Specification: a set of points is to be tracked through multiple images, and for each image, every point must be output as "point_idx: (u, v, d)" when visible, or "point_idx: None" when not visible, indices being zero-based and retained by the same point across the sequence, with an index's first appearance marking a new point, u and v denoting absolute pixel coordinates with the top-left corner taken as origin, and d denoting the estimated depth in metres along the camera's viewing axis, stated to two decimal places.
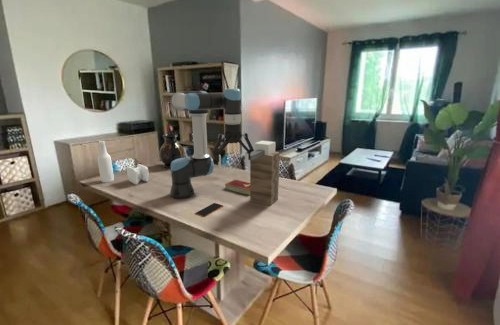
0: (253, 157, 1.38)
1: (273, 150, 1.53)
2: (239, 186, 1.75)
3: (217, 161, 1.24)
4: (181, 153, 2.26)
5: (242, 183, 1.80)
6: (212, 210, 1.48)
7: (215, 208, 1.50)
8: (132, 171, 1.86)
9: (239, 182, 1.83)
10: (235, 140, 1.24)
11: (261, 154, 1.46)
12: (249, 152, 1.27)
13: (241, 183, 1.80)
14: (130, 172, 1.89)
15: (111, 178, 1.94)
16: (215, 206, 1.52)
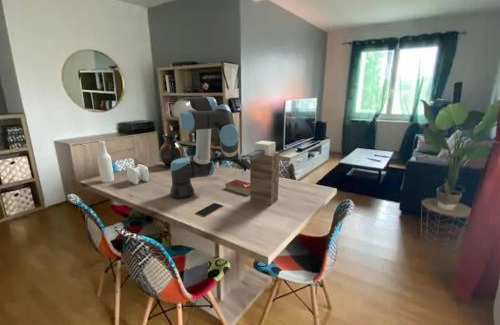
0: (253, 157, 1.38)
1: (273, 150, 1.53)
2: (239, 186, 1.75)
3: None
4: (181, 153, 2.26)
5: (242, 183, 1.80)
6: (212, 210, 1.48)
7: (215, 208, 1.50)
8: (132, 171, 1.86)
9: (239, 182, 1.83)
10: None
11: (261, 154, 1.46)
12: (244, 169, 1.29)
13: (241, 183, 1.80)
14: (130, 172, 1.89)
15: (111, 178, 1.94)
16: (215, 206, 1.52)
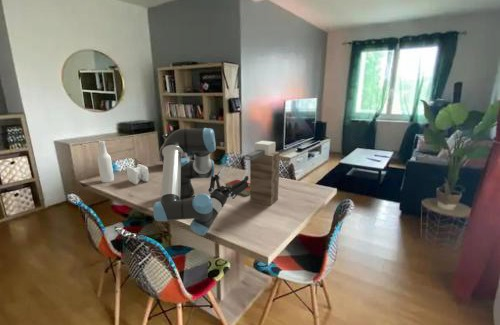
0: (253, 157, 1.38)
1: (273, 150, 1.53)
2: None
3: None
4: None
5: None
6: None
7: None
8: (132, 171, 1.86)
9: None
10: None
11: (261, 154, 1.46)
12: None
13: None
14: (130, 172, 1.89)
15: (111, 178, 1.94)
16: None
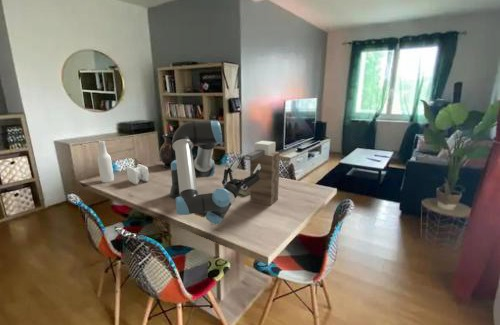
0: (253, 157, 1.38)
1: (273, 150, 1.53)
2: None
3: None
4: None
5: None
6: None
7: None
8: (132, 171, 1.86)
9: None
10: None
11: (261, 154, 1.46)
12: None
13: None
14: (130, 172, 1.89)
15: (111, 178, 1.94)
16: None
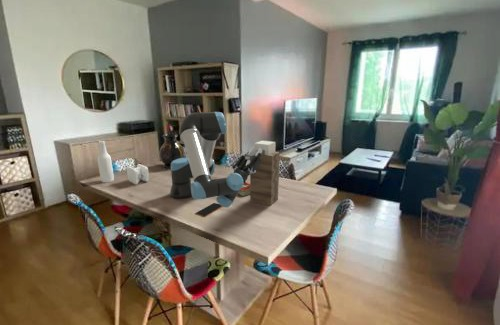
0: (253, 157, 1.38)
1: (273, 150, 1.53)
2: None
3: None
4: (181, 153, 2.26)
5: None
6: (212, 210, 1.48)
7: (215, 208, 1.50)
8: (132, 171, 1.86)
9: None
10: None
11: (261, 154, 1.46)
12: None
13: None
14: (130, 172, 1.89)
15: (111, 178, 1.94)
16: (215, 206, 1.53)
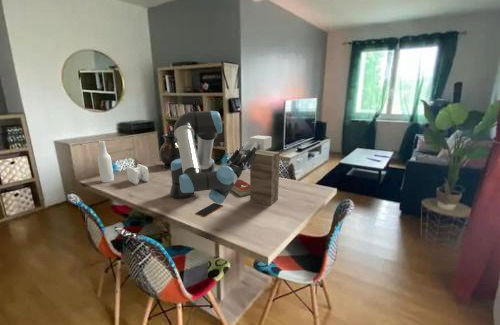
0: (248, 152, 1.33)
1: (269, 145, 1.47)
2: (236, 186, 1.75)
3: None
4: None
5: (241, 184, 1.79)
6: (212, 210, 1.48)
7: (215, 208, 1.50)
8: (132, 171, 1.86)
9: (240, 182, 1.83)
10: None
11: (256, 149, 1.40)
12: None
13: (240, 184, 1.79)
14: (130, 172, 1.89)
15: (111, 178, 1.94)
16: (215, 206, 1.53)
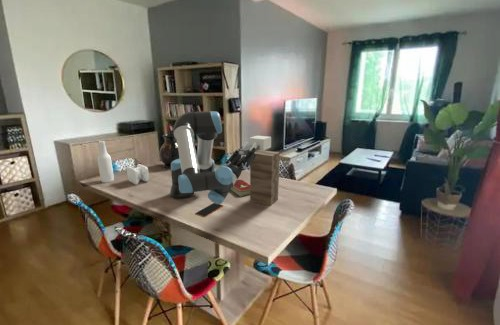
0: (247, 152, 1.32)
1: (269, 145, 1.47)
2: (235, 186, 1.76)
3: None
4: None
5: (241, 184, 1.79)
6: (212, 210, 1.48)
7: (215, 208, 1.50)
8: (132, 171, 1.86)
9: (240, 182, 1.83)
10: None
11: (256, 149, 1.40)
12: None
13: (240, 184, 1.79)
14: (130, 172, 1.89)
15: (111, 178, 1.94)
16: (215, 206, 1.53)
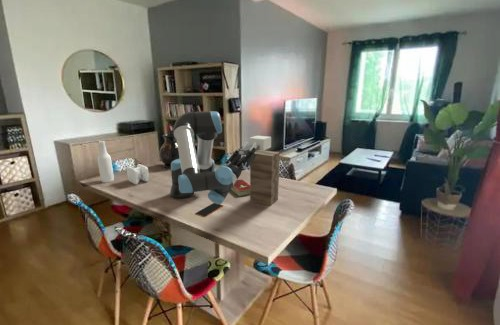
0: (247, 152, 1.32)
1: (269, 145, 1.47)
2: (235, 186, 1.76)
3: None
4: None
5: (241, 184, 1.79)
6: (212, 210, 1.48)
7: (215, 208, 1.50)
8: (132, 171, 1.86)
9: (240, 182, 1.83)
10: None
11: (256, 149, 1.40)
12: None
13: (240, 184, 1.79)
14: (130, 172, 1.89)
15: (111, 178, 1.94)
16: (215, 206, 1.53)
